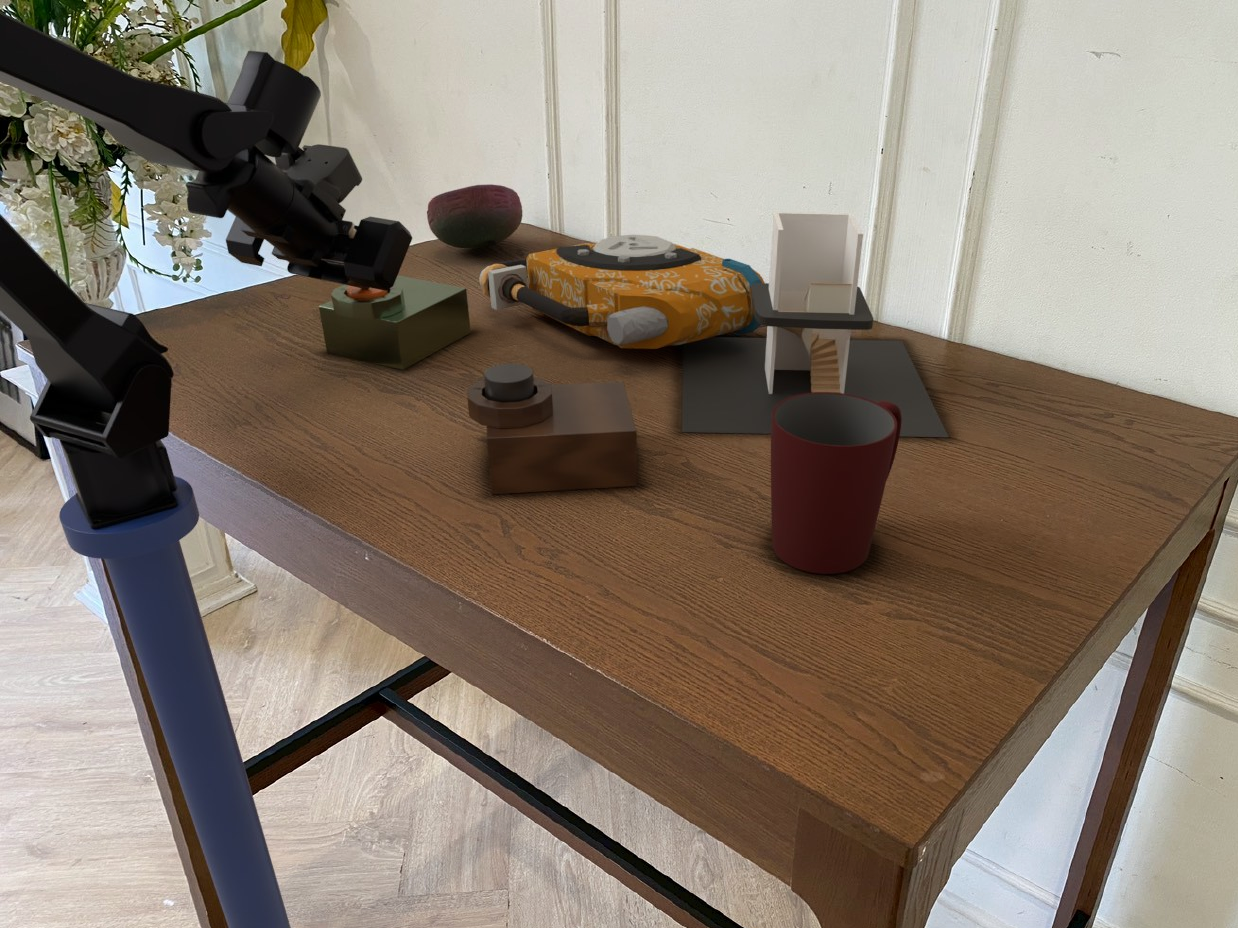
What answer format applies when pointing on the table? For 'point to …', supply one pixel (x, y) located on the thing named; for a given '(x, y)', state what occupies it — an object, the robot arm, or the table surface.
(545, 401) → the walnut block
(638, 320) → the device
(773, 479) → the mug
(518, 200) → the bowl
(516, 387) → the black button
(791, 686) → the table surface
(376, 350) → the green block
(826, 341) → the dark square-based piece
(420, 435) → the table surface
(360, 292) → the orange button
